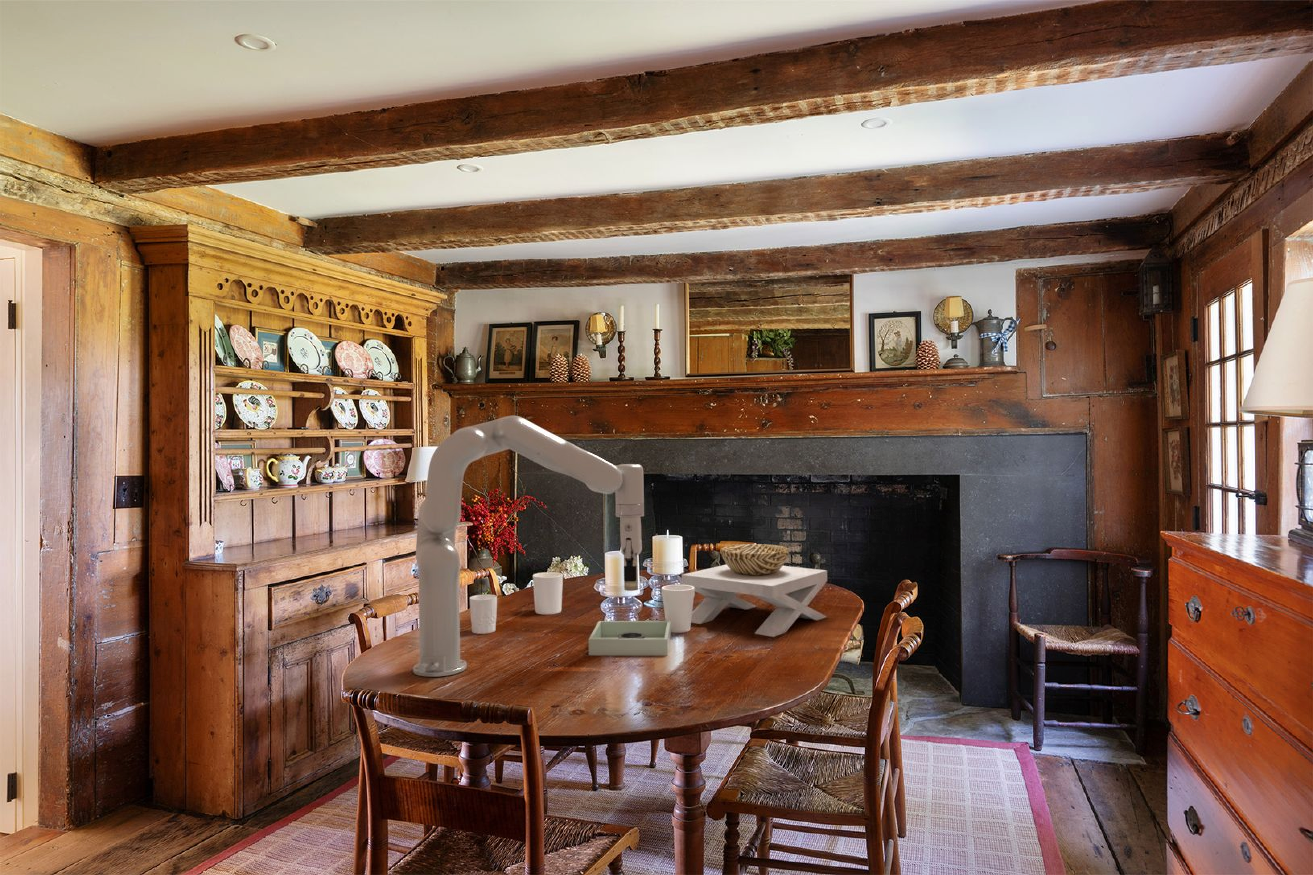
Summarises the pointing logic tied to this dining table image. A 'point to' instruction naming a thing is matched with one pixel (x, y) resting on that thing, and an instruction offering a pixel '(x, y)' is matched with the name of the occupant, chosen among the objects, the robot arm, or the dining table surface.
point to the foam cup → (678, 606)
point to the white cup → (483, 613)
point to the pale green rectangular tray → (609, 644)
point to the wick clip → (631, 635)
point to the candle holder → (548, 592)
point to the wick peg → (632, 584)
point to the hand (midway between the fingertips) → (630, 579)
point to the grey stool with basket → (757, 586)
